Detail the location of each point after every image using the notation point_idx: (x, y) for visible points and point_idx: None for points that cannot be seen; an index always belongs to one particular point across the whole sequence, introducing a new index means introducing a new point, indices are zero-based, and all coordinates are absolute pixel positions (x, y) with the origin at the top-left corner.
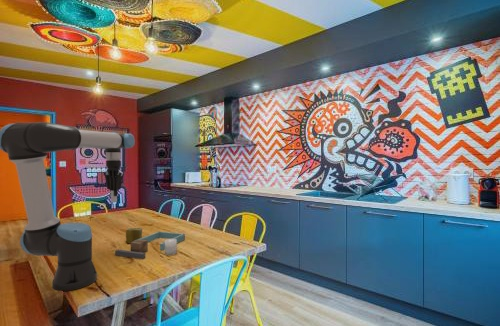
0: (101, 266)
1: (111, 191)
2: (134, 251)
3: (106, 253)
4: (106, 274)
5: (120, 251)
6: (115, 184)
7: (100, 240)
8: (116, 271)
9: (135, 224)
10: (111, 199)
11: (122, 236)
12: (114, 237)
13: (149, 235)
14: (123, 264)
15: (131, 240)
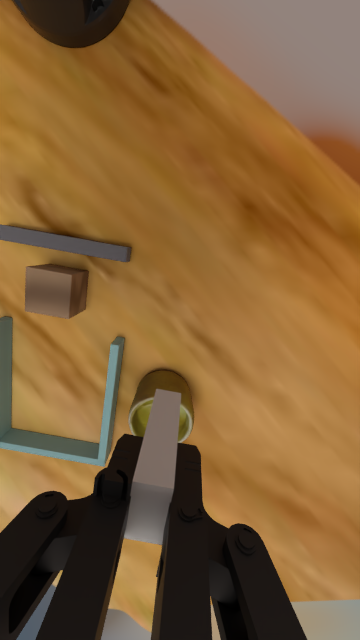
0: (96, 133)
1: (163, 475)
2: (66, 268)
3: (175, 260)
4: (24, 65)
5: (101, 243)
6: (50, 617)
7: (303, 391)
8: (12, 98)
9: (299, 581)
10: (173, 406)
11: (250, 443)
12: (273, 429)
13: (107, 416)
14: (36, 166)
15: (155, 374)
